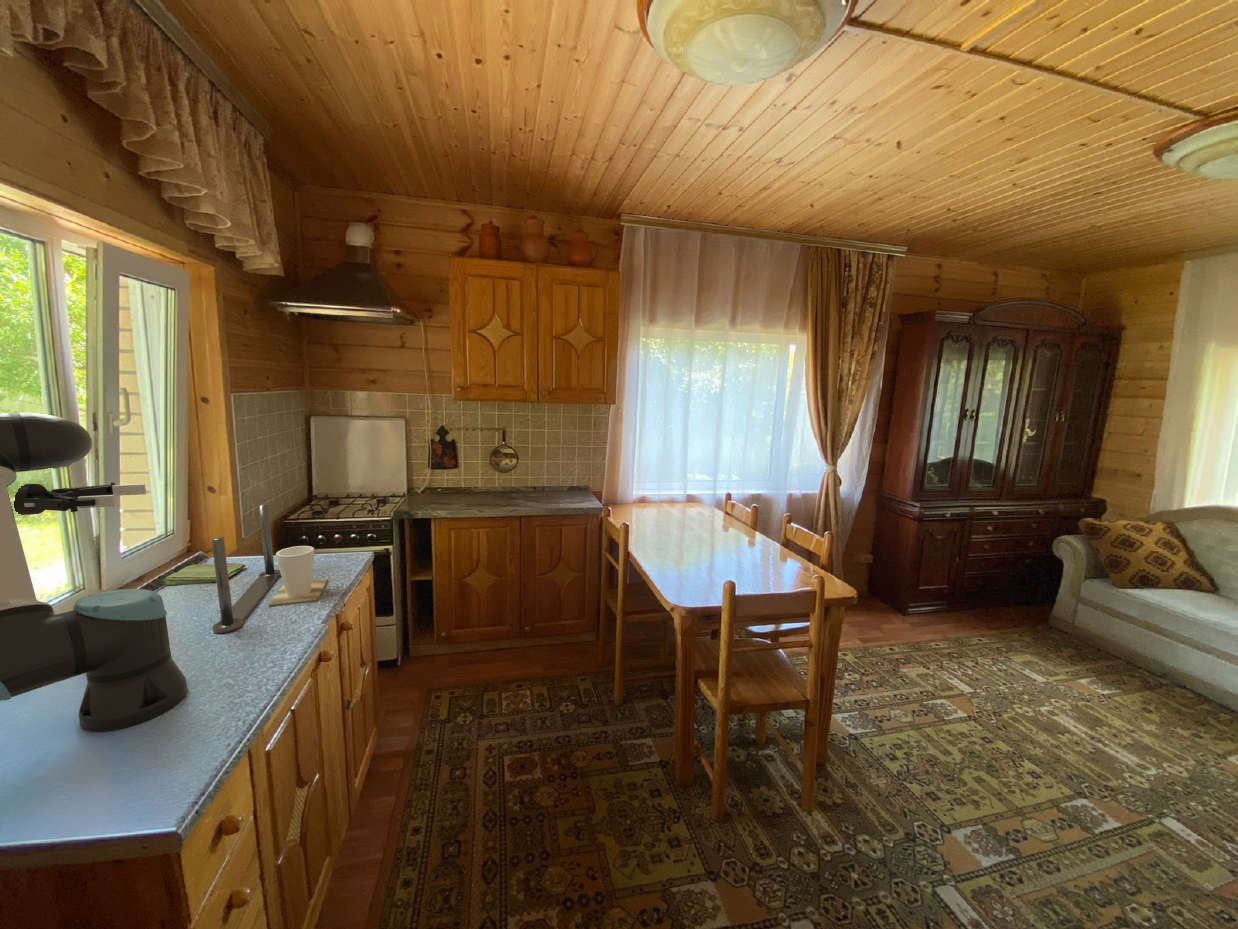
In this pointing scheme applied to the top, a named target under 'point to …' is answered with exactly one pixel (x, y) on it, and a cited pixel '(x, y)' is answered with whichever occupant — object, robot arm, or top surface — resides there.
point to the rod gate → (243, 607)
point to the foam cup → (296, 569)
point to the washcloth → (199, 574)
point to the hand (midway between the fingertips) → (130, 494)
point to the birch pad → (309, 597)
